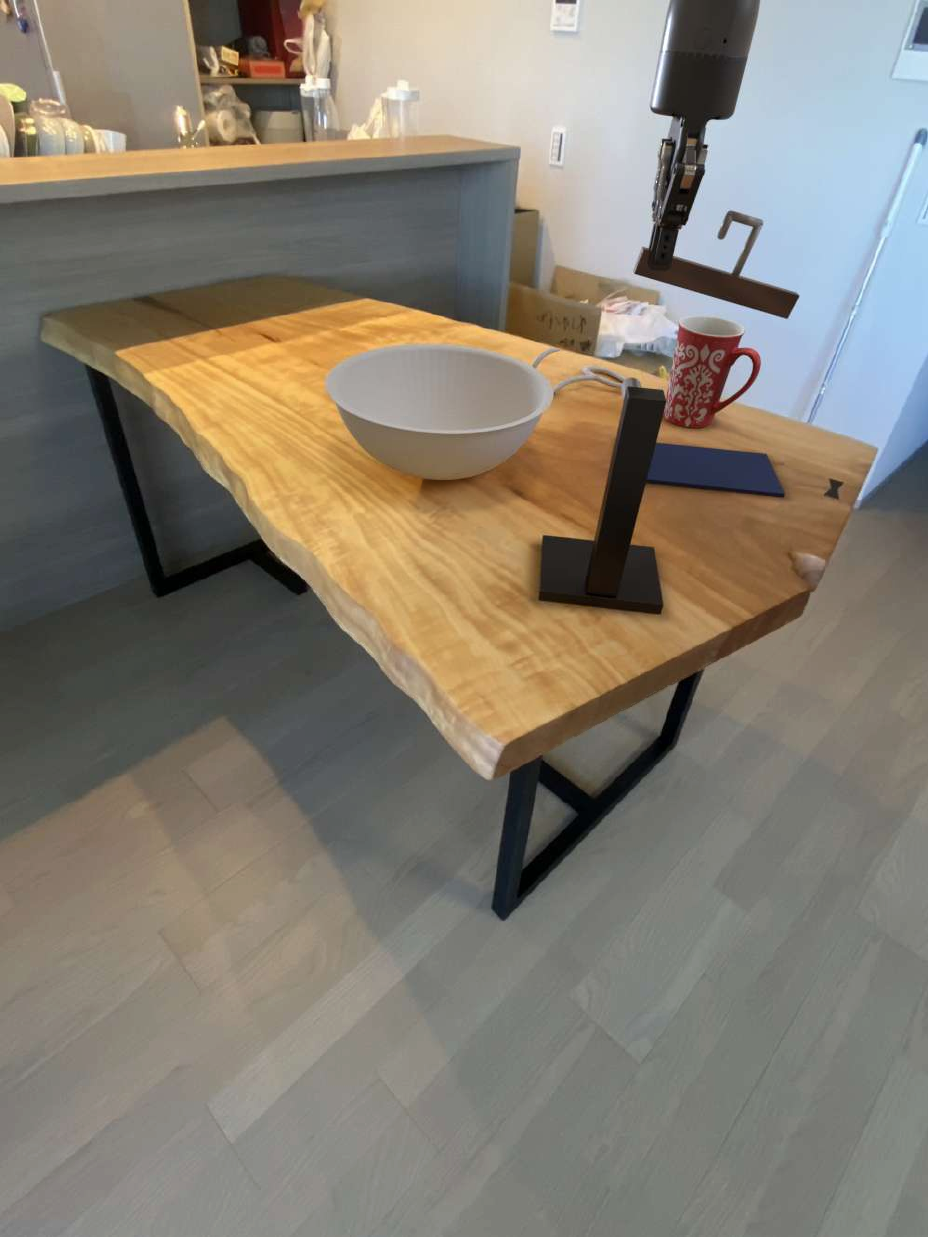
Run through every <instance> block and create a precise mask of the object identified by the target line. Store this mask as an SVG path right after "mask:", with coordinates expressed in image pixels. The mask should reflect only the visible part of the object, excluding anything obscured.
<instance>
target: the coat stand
mask: <svg viewBox="0 0 928 1237" xmlns="http://www.w3.org/2000/svg"><path fill="white" fill-rule="evenodd" d="M627 378H628V379H626V380H625V381H624V382H623V381H622V382H621V384H622V385H621V389H620V390H621V397H622V407H621V411H620V417H619V421H618V425H617V431H616V434H615V440H614V445H613V449H612V454H611V458H610V464H609V468H608V471H607V472H608V473H607V477H606V481H605V482H606V483H605V487H604V492H603V497H602V501H601V507H600V511H599V514H598V520H597V525H596V529H595V533H594V537H593V538H594V539H593V540H592V539H585V538H584V539H583V538H574V537H566V536H556V535H550V534H549V535H547V534H542V540H541V546H540V548H541V550H540V565H539V566H540V568H539V584H538V601H546V602H553V603H564V604H572V605H579V606H581V605H582V606H589V607H590V606H591V607H597V608H605V609H614V610H621V611H622V610H623V611H631V612H632V611H633V612H640V613H641V612H642V613H649V614H656V615H657V614H658V615H661V614H662V611H663V608H664V599H663V594H662V586H661V581H660V575H659V569H658V568H659V567H658V563H657V556H656V551H655V546H646V545H639V544H631V543H632V539H633V536H634V532H635V528H636V524H637V519H638V516H639V511H640V509H641V503H642V500H643V496H644V492H645V488H646V484H647V483H646V481H647V477H648V473H649V469H650V465H651V461H652V457H653V453H654V449H655V445H656V443H657V441H658V437H659V434H660V429H661V425H662V421H663V417H664V415H663V414H664V410H665V406H666V395H665V390H664V389H660V388H650V387H649V388H648V387H642V383H641V381H640V379H638V378H636V377H627Z"/></svg>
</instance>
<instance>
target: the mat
mask: <svg viewBox="0 0 928 1237" xmlns="http://www.w3.org/2000/svg"><path fill="white" fill-rule="evenodd" d="M646 484H655V485H667V486H676V487H684V488H693V489H703V490H711V491H712V490H713V491H721V492H732V493H742V494H751V495H758V496H759V495H761V496H767V497H769V496H770V497H777V498H779V497H780V498H784V497H785V496H786V492H785V490H784V488H783V486H782V484H781V481H780V480H779V478H778V476H777V473H776V471H775V469H774V467H773V465H772V462H771V461H770V459H769V456H768V454H767V453H762V452H752V451H743V450H735V449H724V448H715V447H714V448H713V447H706V446H705V447H704V446H702V447H701V446H694V445H693V446H692V445H685V444H684V445H683V444H675V443H667V442H666V443H664V442H656V445H655V449H654V453H653V457H652V461H651V465H650V469H649V473H648V477H647V481H646Z"/></svg>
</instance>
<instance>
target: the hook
mask: <svg viewBox="0 0 928 1237" xmlns="http://www.w3.org/2000/svg"><path fill="white" fill-rule="evenodd" d="M562 350H563V348H559V347H552V348H549V349H546V350H544V351H543V352H541V353H540V354H538V356H536V358H535V359H534V361H533V362H532V364H531V366H532V367H533V368H535V369H537V368H538V366H539V365H540V363H541V362H542V361H543V360H544V359H545V358H547V356H549V355H552V354H553V353H557V352H559V351H562ZM582 372H583V374H584V375H576V376H572V377H569V378H566V379H564V380H563V381H561V382H559V383H557V385H555V386H554V387H553V391H554V394H556V393H557V392H558V391H560V390H561V389H563V388H564V387H566V386H568V385H570V384H571V385H572V384H574V383H577V382H584V381H586V382H587V381H595V382H598V383H600V384H602V385H604V386H607V387H610V388H614V389H619V390H621V385H622V383H623V382H624V381H625V380H626V379H628V378H629V377H627V376H625V375H622V374H620V373H619V372H617V371H614V370H612V369H610V368H607V367H603V366H599V365H586V366H584V367H583V368H582ZM594 372H599V373H603V374H606V375H608V376H611V377H612V378H615V379H616V380H619V381H621V382H622V383H620V382H615V381H611V380H609V379H606V378H604V377H602V376H599V375H596V374H595V373H594Z"/></svg>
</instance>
